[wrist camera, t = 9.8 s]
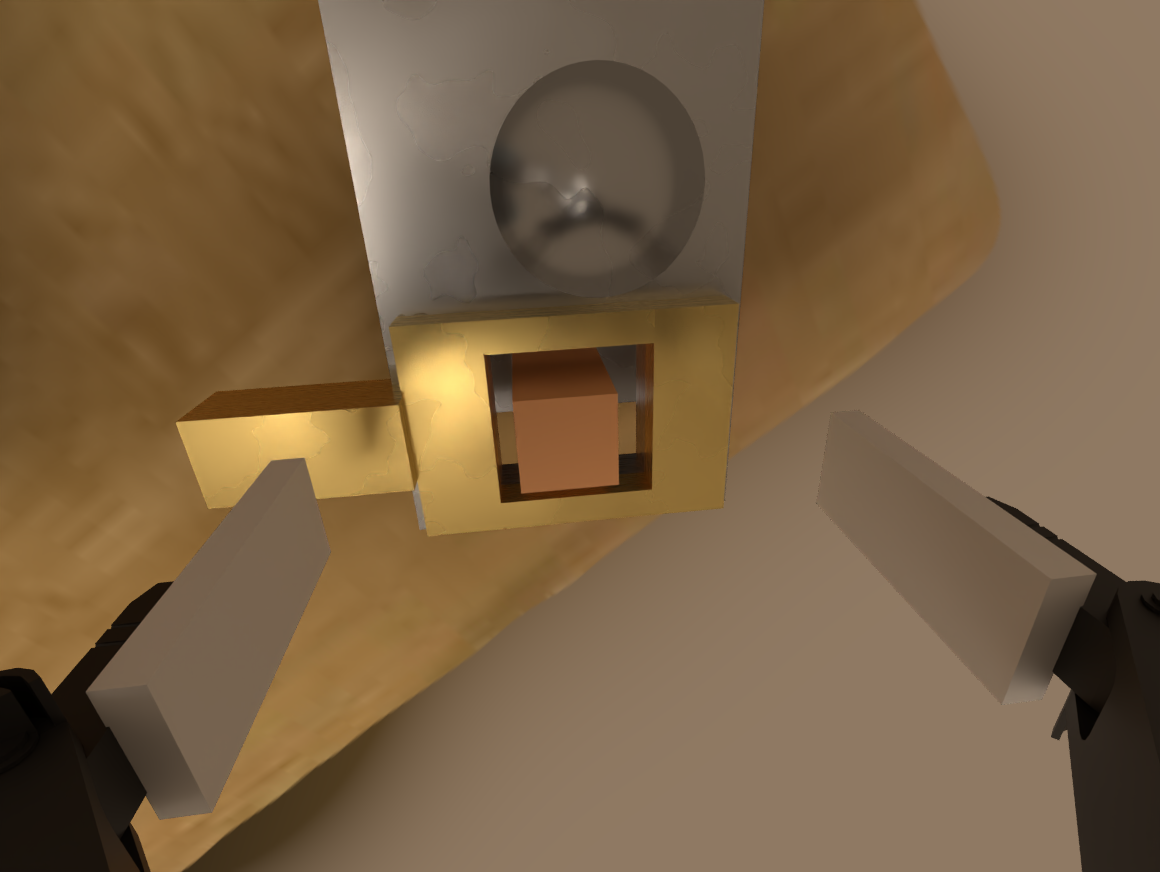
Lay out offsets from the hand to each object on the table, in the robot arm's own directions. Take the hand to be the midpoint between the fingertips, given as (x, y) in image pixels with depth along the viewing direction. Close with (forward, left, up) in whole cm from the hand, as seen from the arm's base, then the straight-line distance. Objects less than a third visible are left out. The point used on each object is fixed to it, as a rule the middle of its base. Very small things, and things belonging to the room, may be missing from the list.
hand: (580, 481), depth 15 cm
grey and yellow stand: (-2, +4, -14) cm, 14 cm away
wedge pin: (0, 0, -12) cm, 13 cm away
